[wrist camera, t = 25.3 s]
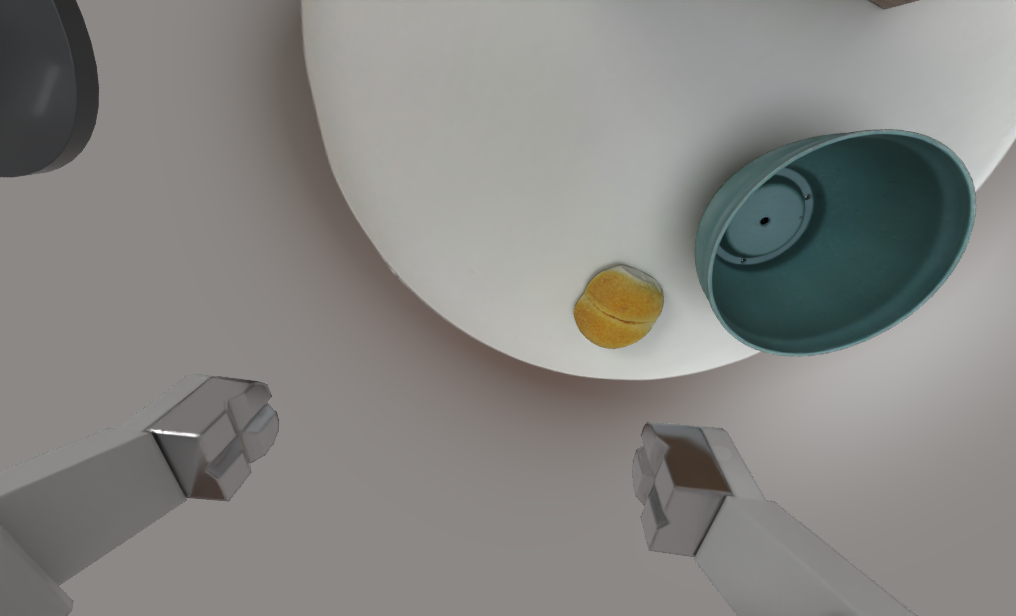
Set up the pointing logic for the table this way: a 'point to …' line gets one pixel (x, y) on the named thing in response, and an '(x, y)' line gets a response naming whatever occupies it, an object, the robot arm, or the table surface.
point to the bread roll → (618, 307)
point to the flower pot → (833, 239)
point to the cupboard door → (891, 3)
